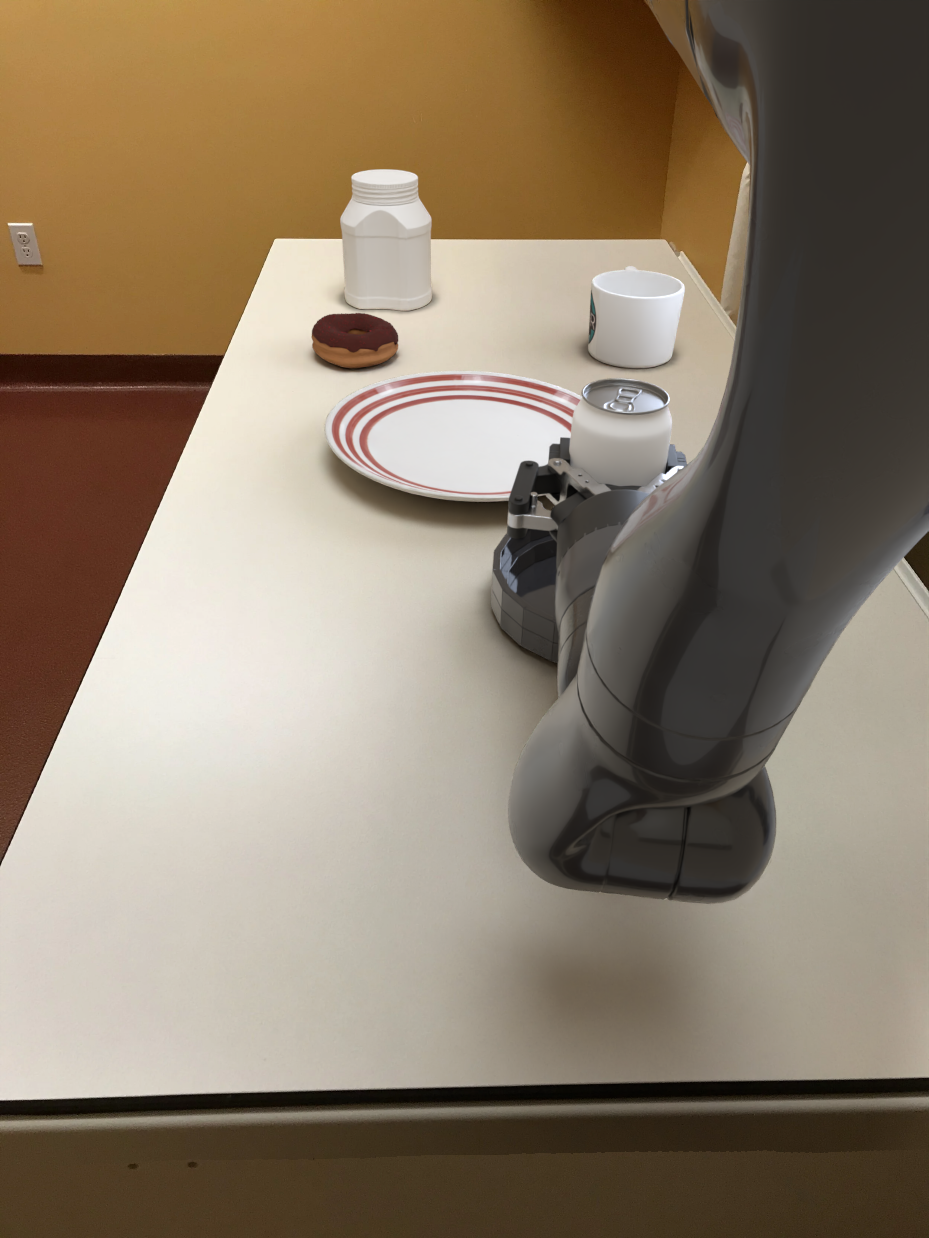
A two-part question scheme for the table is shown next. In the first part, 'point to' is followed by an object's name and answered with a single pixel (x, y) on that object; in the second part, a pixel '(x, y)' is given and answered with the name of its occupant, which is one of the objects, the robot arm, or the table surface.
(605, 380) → the can
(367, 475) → the dinner plate
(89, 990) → the table surface
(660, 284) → the mug
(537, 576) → the pan
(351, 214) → the jar
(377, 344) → the donut
